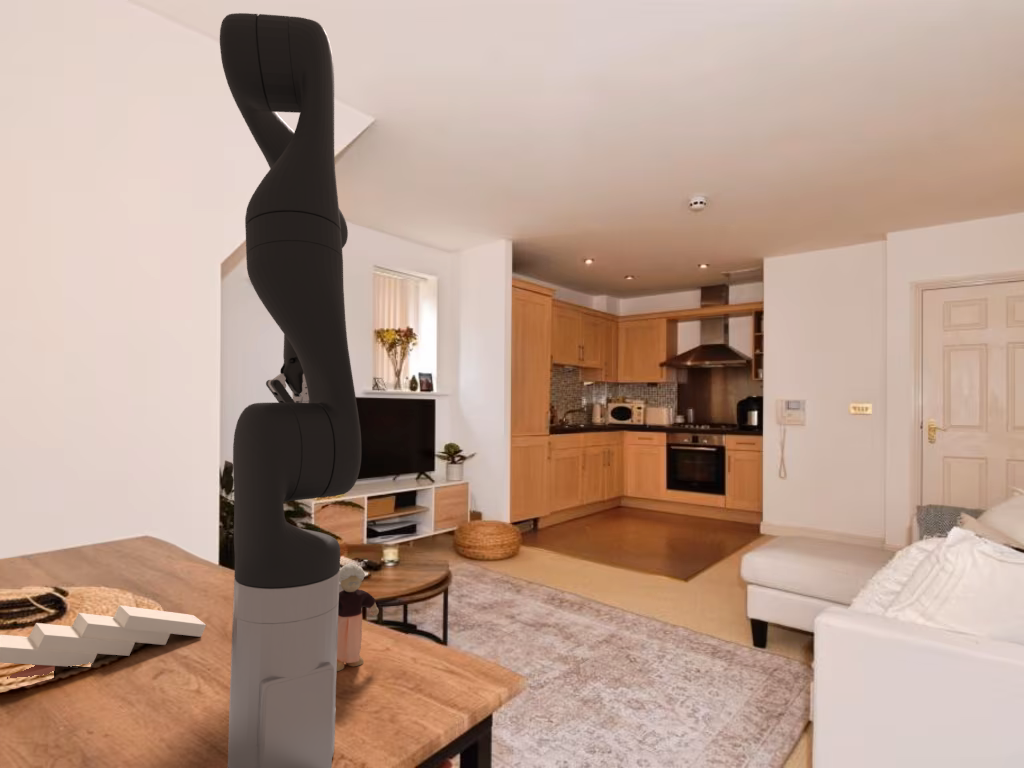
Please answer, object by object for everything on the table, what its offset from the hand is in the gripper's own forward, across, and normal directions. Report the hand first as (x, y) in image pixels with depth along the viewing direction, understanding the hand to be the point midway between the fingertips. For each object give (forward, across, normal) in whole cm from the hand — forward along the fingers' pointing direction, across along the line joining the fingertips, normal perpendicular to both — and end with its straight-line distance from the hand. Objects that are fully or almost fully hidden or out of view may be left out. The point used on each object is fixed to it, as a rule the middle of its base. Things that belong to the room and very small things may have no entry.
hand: (306, 439), depth 89 cm
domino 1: (+26, +27, -3) cm, 38 cm away
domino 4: (+26, +18, -3) cm, 32 cm away
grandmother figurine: (+27, +4, +21) cm, 34 cm away
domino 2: (+26, +30, -2) cm, 40 cm away
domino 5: (+26, +14, -3) cm, 30 cm away
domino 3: (+26, +22, -3) cm, 35 cm away
